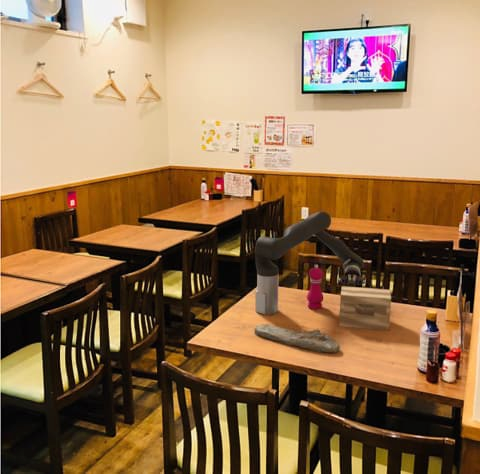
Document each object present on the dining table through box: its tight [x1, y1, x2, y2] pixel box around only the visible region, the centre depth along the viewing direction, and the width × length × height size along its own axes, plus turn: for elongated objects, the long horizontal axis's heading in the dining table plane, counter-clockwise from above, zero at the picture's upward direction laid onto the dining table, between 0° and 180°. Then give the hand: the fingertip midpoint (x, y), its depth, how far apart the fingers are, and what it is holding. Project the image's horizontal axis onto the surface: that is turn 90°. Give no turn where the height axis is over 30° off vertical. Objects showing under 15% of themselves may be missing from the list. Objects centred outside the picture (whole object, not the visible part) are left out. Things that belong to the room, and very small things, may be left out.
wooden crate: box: [338, 285, 392, 331], centre depth 209 cm, size 11×20×14 cm, turn 76°
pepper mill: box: [306, 264, 324, 310], centre depth 226 cm, size 7×7×20 cm
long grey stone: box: [254, 323, 341, 353], centre depth 194 cm, size 35×5×10 cm
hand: (351, 285), depth 228 cm, fingers closed
